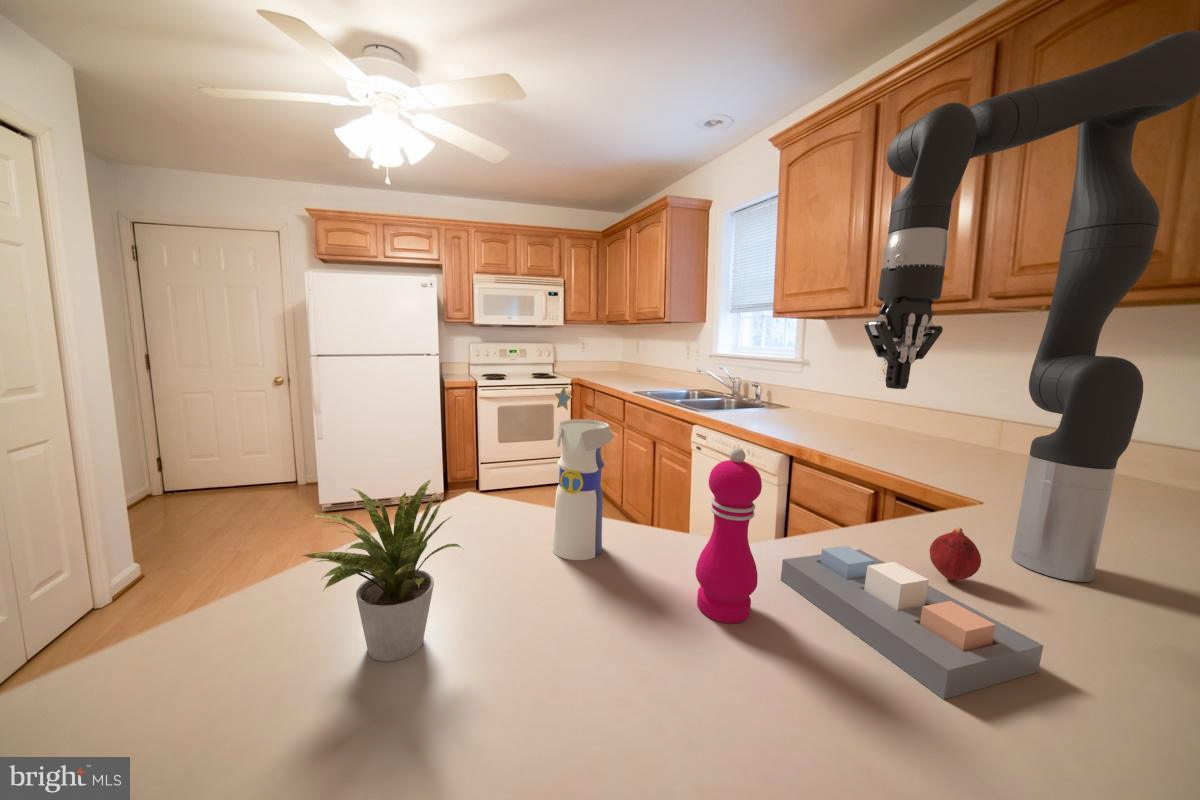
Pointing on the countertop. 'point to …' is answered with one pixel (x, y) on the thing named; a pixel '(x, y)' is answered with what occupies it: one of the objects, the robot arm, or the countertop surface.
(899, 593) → the white key
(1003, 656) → the board
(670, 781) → the countertop surface
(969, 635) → the terracotta key
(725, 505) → the pepper mill
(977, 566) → the onion
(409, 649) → the house plant
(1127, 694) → the countertop surface
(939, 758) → the countertop surface
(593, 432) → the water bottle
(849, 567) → the blue key
